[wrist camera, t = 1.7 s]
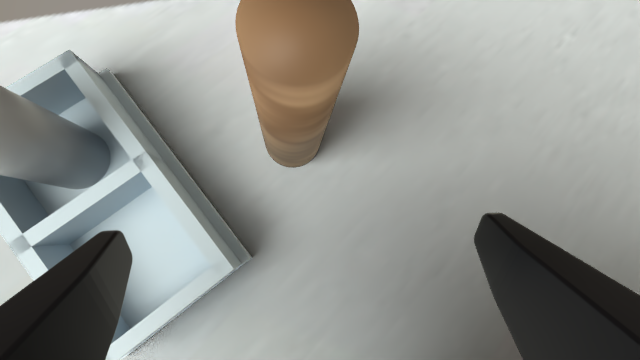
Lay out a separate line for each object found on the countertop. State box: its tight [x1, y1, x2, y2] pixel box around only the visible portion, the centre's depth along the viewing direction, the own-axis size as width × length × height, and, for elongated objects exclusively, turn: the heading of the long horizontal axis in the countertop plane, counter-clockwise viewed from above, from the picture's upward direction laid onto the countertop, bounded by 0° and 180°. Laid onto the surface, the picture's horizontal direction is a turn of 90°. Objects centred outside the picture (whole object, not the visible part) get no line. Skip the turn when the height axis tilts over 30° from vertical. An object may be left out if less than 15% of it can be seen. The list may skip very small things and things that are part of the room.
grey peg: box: [0, 86, 110, 189], centre depth 15 cm, size 4×4×11 cm
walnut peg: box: [236, 0, 359, 167], centre depth 16 cm, size 4×4×13 cm
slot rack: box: [0, 50, 252, 360], centre depth 19 cm, size 15×9×4 cm, turn 38°
